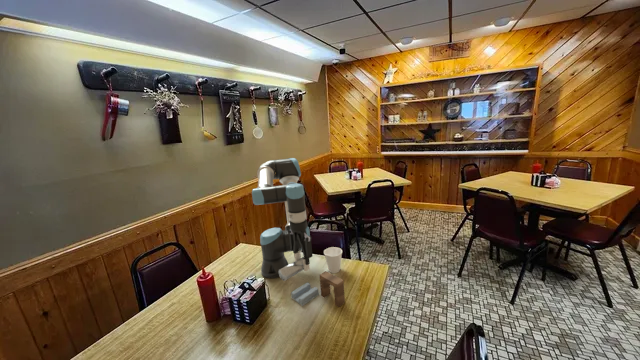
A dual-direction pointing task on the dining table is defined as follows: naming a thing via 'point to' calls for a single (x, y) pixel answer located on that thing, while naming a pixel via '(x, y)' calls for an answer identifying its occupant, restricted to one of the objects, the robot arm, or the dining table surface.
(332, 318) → the dining table surface
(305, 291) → the cradle
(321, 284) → the brown arch block
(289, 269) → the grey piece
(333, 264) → the cup
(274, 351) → the dining table surface
